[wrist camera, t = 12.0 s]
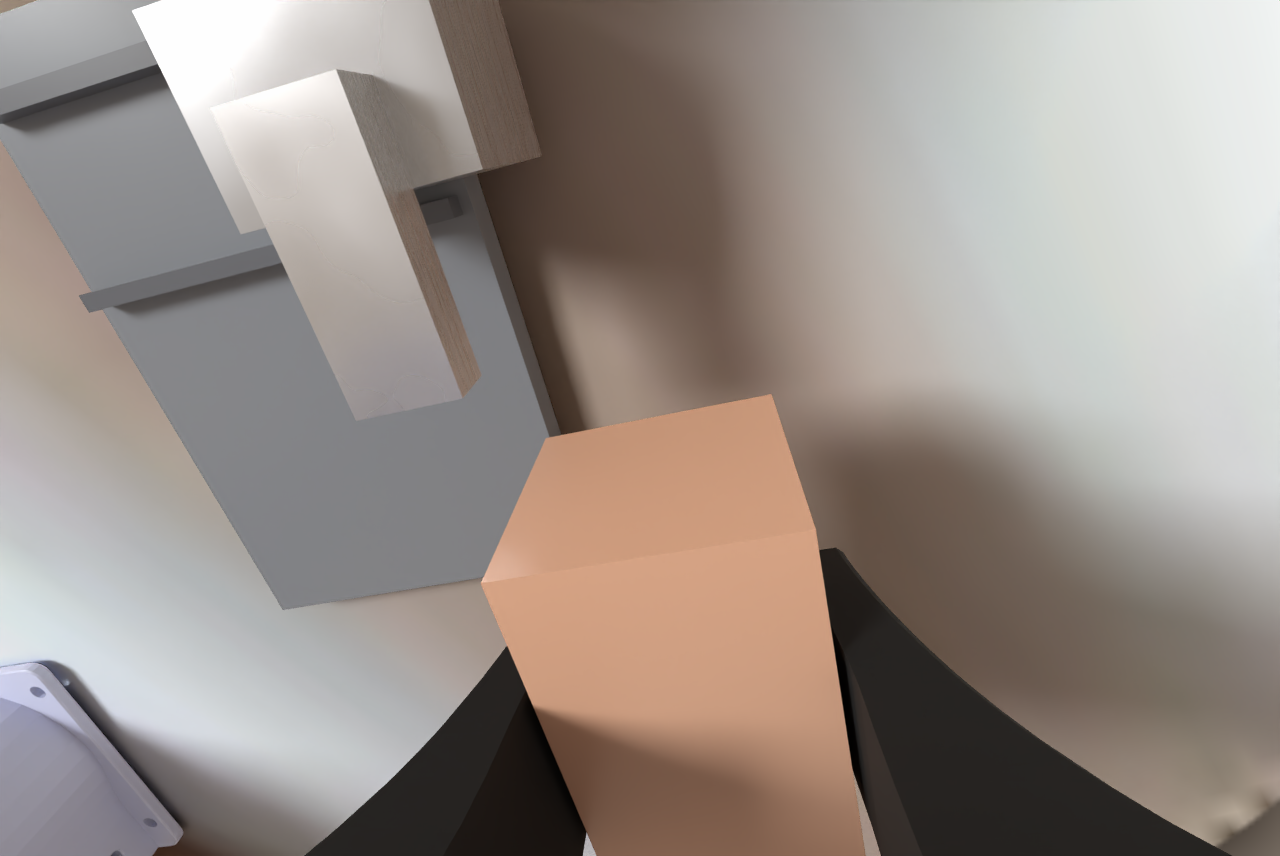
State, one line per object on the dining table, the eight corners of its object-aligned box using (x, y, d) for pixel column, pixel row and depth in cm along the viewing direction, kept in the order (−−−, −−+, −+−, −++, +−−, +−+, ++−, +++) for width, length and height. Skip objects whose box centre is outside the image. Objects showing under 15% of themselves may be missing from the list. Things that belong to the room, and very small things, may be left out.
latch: (582, 297, 14) (531, 383, 9) (418, 335, 15) (293, 434, 10) (494, -14, 12) (366, -108, 7) (303, 46, 12) (67, -3, 8)
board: (595, 538, 18) (587, 573, 17) (301, 587, 20) (271, 624, 18) (388, -98, 12) (348, -128, 11) (-14, 41, 14) (-96, 31, 12)
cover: (822, 693, 13) (872, 900, 10) (639, 715, 14) (623, 918, 10) (771, 394, 11) (816, 529, 7) (545, 438, 11) (480, 583, 8)
